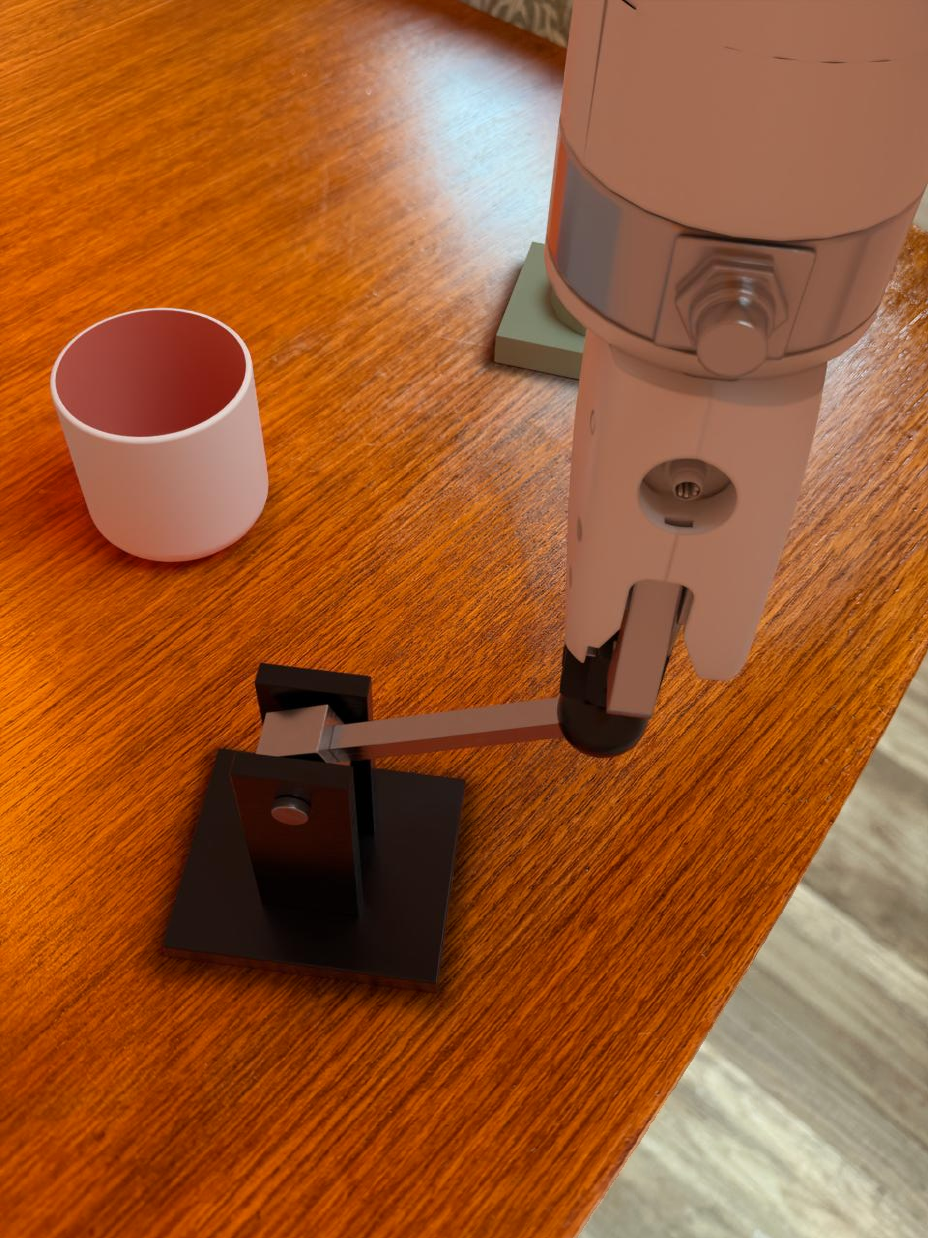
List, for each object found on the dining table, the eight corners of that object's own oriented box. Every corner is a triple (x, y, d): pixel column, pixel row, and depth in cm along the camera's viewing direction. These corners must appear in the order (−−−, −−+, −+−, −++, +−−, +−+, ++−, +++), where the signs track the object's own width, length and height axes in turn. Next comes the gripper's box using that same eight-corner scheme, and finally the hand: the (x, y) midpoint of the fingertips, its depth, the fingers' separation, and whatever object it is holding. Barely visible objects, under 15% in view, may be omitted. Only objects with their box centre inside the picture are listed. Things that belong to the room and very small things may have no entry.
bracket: (465, 790, 58) (476, 635, 48) (437, 993, 52) (443, 866, 42) (221, 759, 58) (180, 599, 48) (165, 957, 53) (105, 822, 42)
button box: (702, 302, 81) (715, 252, 77) (679, 400, 75) (691, 351, 72) (529, 268, 82) (534, 217, 79) (493, 362, 76) (497, 311, 73)
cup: (93, 584, 65) (48, 452, 57) (91, 452, 70) (49, 316, 62) (279, 560, 66) (261, 428, 58) (261, 433, 72) (243, 297, 64)
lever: (661, 694, 43) (635, 642, 41) (658, 770, 41) (631, 721, 39) (303, 737, 49) (263, 695, 47) (286, 807, 47) (244, 766, 45)
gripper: (940, 484, 21) (719, 906, 36) (873, 50, 30) (717, 530, 45) (516, 434, 21) (469, 872, 36) (574, 18, 30) (517, 506, 45)
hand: (607, 682), depth 40 cm, fingers closed
